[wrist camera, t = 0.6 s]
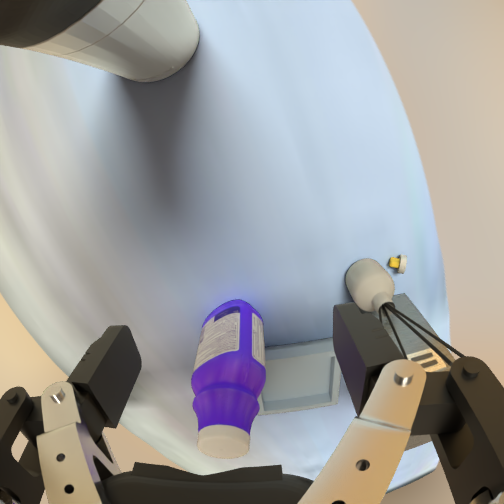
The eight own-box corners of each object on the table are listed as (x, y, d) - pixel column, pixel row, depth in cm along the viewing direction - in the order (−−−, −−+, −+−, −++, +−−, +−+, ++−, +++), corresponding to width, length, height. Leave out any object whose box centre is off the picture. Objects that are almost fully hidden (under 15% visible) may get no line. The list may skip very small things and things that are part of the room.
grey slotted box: (347, 301, 34) (404, 423, 17) (405, 291, 33) (479, 392, 17) (344, 345, 37) (385, 460, 20) (397, 334, 36) (453, 434, 20)
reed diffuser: (333, 305, 34) (391, 451, 16) (314, 258, 31) (380, 412, 13) (407, 269, 32) (503, 385, 14) (394, 220, 30) (518, 326, 11)
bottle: (226, 347, 36) (217, 469, 20) (194, 320, 34) (166, 446, 18) (271, 317, 34) (285, 447, 18) (238, 287, 33) (233, 420, 17)
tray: (246, 349, 36) (246, 362, 34) (338, 336, 36) (343, 348, 34) (257, 403, 41) (258, 415, 39) (334, 392, 41) (337, 404, 38)
